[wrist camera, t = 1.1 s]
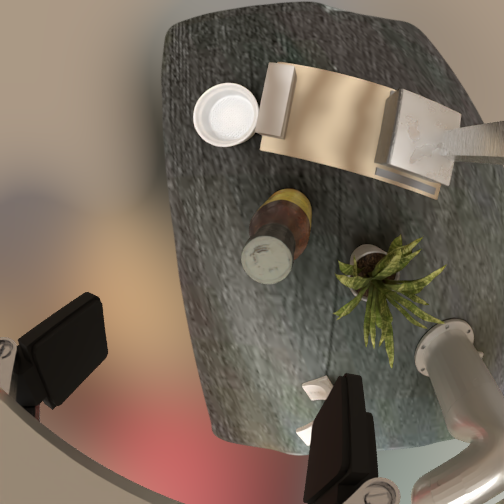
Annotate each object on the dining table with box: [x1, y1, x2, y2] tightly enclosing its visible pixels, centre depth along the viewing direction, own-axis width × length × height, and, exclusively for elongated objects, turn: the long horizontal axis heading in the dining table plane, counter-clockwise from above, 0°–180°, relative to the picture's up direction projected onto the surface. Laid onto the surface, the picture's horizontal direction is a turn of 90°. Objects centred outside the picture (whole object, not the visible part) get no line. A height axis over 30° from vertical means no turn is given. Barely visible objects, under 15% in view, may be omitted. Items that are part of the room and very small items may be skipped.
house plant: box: [333, 234, 446, 370], centre depth 32 cm, size 14×14×16 cm
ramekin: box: [193, 83, 259, 147], centre depth 35 cm, size 9×9×4 cm
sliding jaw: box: [374, 88, 504, 186], centre depth 20 cm, size 8×9×23 cm
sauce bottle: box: [241, 188, 312, 284], centre depth 30 cm, size 7×6×20 cm
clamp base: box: [255, 62, 441, 200], centre depth 31 cm, size 26×13×7 cm, turn 80°
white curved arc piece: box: [296, 376, 333, 446], centre depth 42 cm, size 5×6×12 cm
